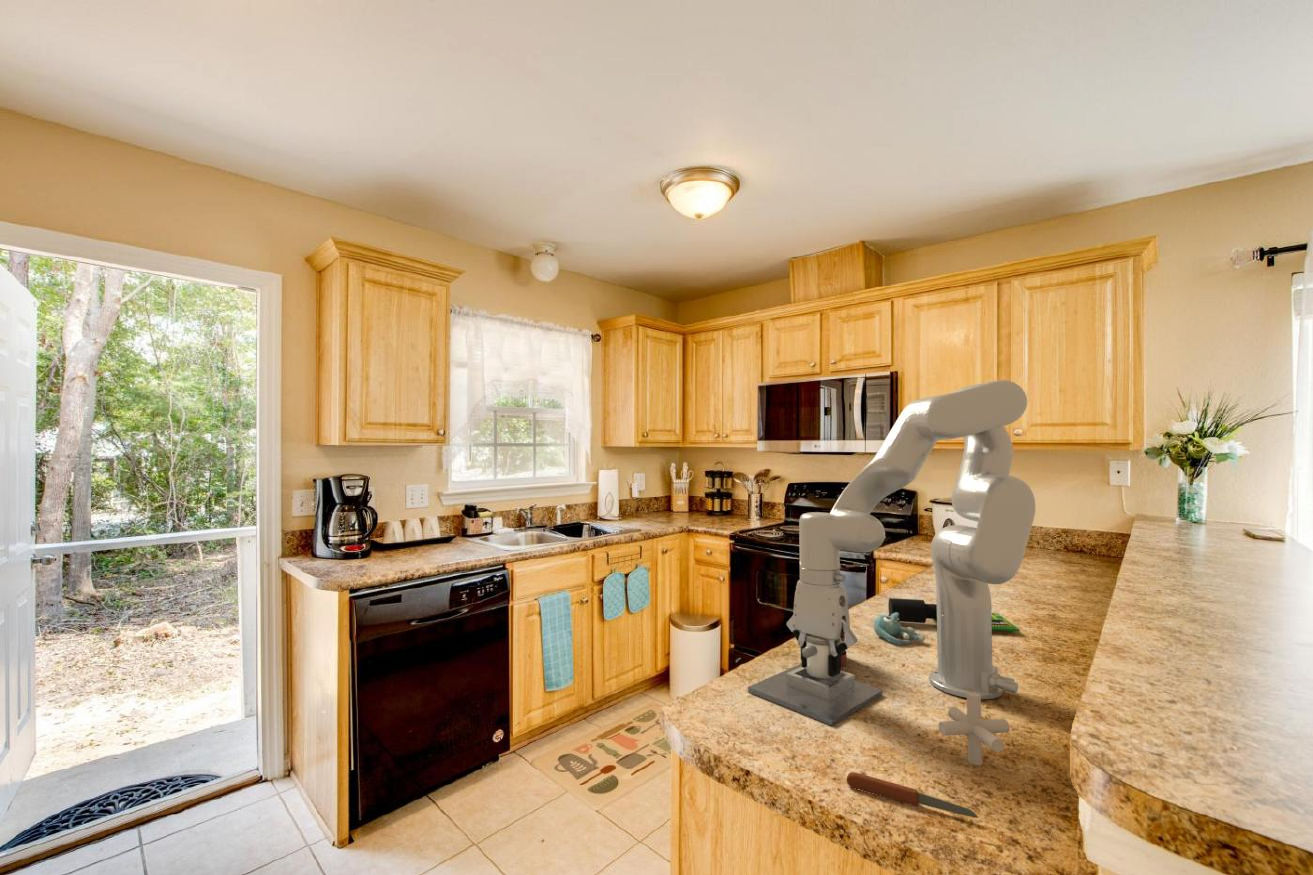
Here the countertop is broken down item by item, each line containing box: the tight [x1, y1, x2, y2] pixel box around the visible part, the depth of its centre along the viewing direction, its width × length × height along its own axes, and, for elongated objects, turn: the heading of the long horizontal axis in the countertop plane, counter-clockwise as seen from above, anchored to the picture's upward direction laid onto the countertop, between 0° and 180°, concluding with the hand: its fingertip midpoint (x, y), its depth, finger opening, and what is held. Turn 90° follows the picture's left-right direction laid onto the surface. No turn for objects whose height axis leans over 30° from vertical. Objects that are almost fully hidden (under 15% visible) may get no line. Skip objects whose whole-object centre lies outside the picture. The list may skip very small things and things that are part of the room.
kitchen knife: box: [846, 771, 979, 819], centre depth 73 cm, size 16×1×2 cm, turn 59°
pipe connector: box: [938, 691, 1011, 766], centre depth 82 cm, size 10×10×10 cm
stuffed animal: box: [872, 613, 926, 646], centre depth 137 cm, size 11×7×12 cm
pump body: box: [802, 634, 831, 678], centre depth 107 cm, size 5×8×7 cm
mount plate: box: [747, 663, 883, 727], centre depth 106 cm, size 18×18×3 cm
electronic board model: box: [888, 597, 1020, 632], centre depth 150 cm, size 30×7×15 cm
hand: (820, 669), depth 107 cm, fingers closed on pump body, 5 cm apart
